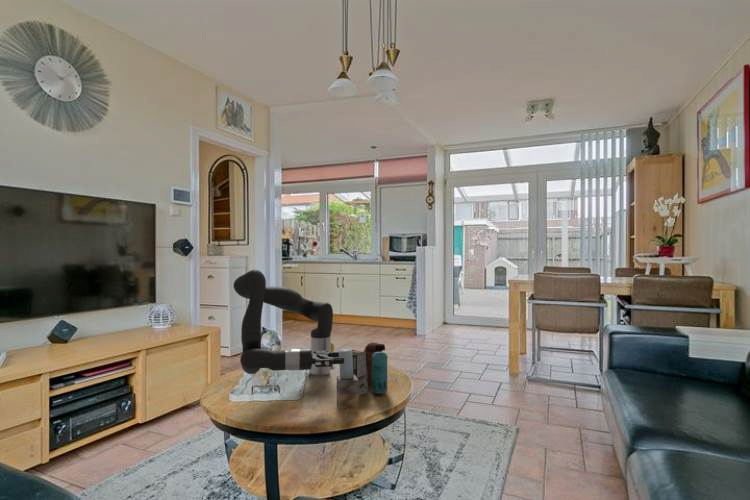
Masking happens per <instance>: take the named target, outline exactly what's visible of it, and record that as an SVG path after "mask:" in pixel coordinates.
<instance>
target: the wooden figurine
mask: <svg viewBox="0 0 750 500" xmlns="http://www.w3.org/2000/svg"><path fill="white" fill-rule="evenodd" d="M376 344H379V343H378V342H370V343H367V345H366V346H365V348H364V350H363V351H362V352H365V353H368V386H370V387H372V386H371V379H372V377H371V376H372V374H371V373H372V355H373V354H374V353H375V352H383V351H377V350H375V345H376Z"/></svg>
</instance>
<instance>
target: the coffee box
mask: <svg viewBox="0 0 750 500" xmlns="http://www.w3.org/2000/svg"><path fill="white" fill-rule="evenodd" d="M351 350H352V357H353V374H355V376H356V377H357V378H358V380H359V394H358V397H359V396H362V395H363V394H367V393H368V386H369V385H368V353H365V352H363V351H361V350H357V349H356V350H355V349H351Z"/></svg>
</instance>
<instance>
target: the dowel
mask: <svg viewBox="0 0 750 500" xmlns="http://www.w3.org/2000/svg"><path fill="white" fill-rule="evenodd" d="M352 350H353V349H351V348H344V349H339V350H338V352H339V357H343V358H344V364H338V365H339V376H340V378H341V379H351V378H353V377H354V374H353V357H352Z"/></svg>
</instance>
